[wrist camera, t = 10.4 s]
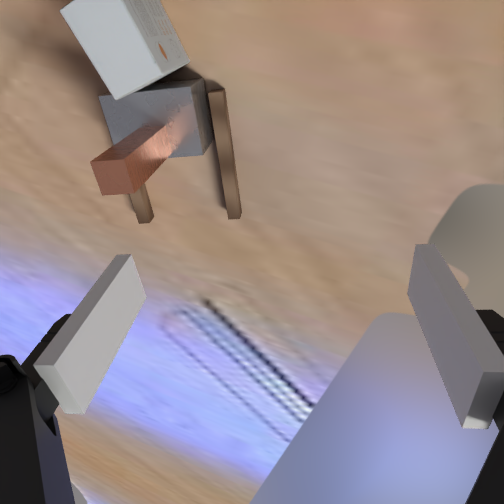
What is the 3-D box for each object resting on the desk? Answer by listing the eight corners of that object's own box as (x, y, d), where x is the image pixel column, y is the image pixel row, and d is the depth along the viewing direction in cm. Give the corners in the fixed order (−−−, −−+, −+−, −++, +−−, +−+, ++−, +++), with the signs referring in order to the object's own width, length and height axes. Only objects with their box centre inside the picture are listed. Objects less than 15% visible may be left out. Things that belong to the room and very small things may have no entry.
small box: (110, 10, 38) (55, 7, 29) (153, -18, 36) (107, -30, 27) (151, 84, 42) (113, 102, 33) (192, 62, 40) (163, 75, 31)
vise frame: (68, -29, 36) (9, -41, 29) (205, -51, 34) (180, -71, 27) (143, 217, 52) (118, 250, 44) (241, 212, 50) (232, 246, 42)
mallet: (121, 87, 42) (33, 121, 28) (203, 78, 40) (153, 110, 26) (138, 145, 46) (67, 202, 31) (213, 139, 44) (174, 196, 30)
